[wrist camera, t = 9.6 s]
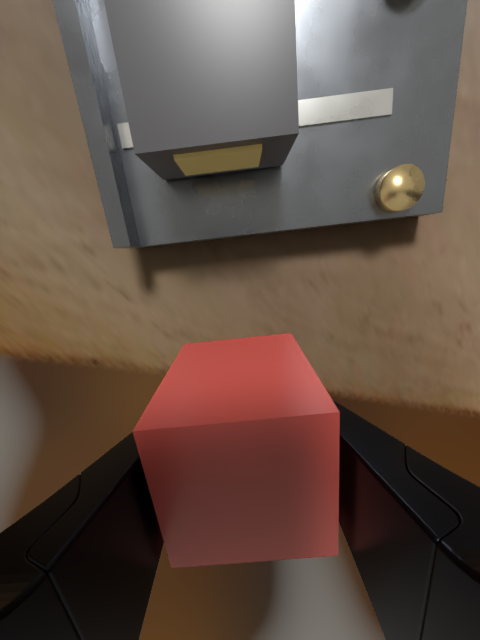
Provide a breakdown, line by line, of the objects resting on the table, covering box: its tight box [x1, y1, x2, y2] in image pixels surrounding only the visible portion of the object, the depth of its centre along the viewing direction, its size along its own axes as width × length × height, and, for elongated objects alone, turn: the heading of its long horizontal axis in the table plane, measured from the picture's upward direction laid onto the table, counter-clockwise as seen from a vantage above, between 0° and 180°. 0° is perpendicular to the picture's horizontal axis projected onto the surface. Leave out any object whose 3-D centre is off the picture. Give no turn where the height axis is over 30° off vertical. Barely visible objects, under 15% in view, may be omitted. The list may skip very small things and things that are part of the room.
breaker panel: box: [53, 0, 467, 248], centre depth 13 cm, size 20×20×4 cm
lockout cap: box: [133, 333, 340, 568], centre depth 7 cm, size 4×4×4 cm
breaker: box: [104, 0, 299, 180], centre depth 11 cm, size 7×5×4 cm
